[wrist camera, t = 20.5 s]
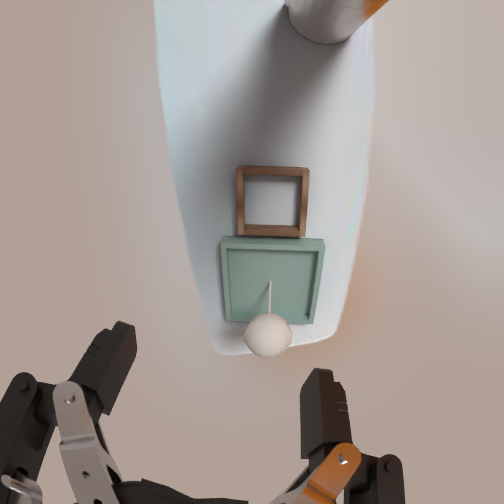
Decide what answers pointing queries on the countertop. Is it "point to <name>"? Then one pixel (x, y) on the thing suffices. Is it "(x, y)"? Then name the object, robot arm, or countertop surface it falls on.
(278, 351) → the lollipop
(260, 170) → the square wooden frame
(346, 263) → the countertop surface
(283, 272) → the tray
